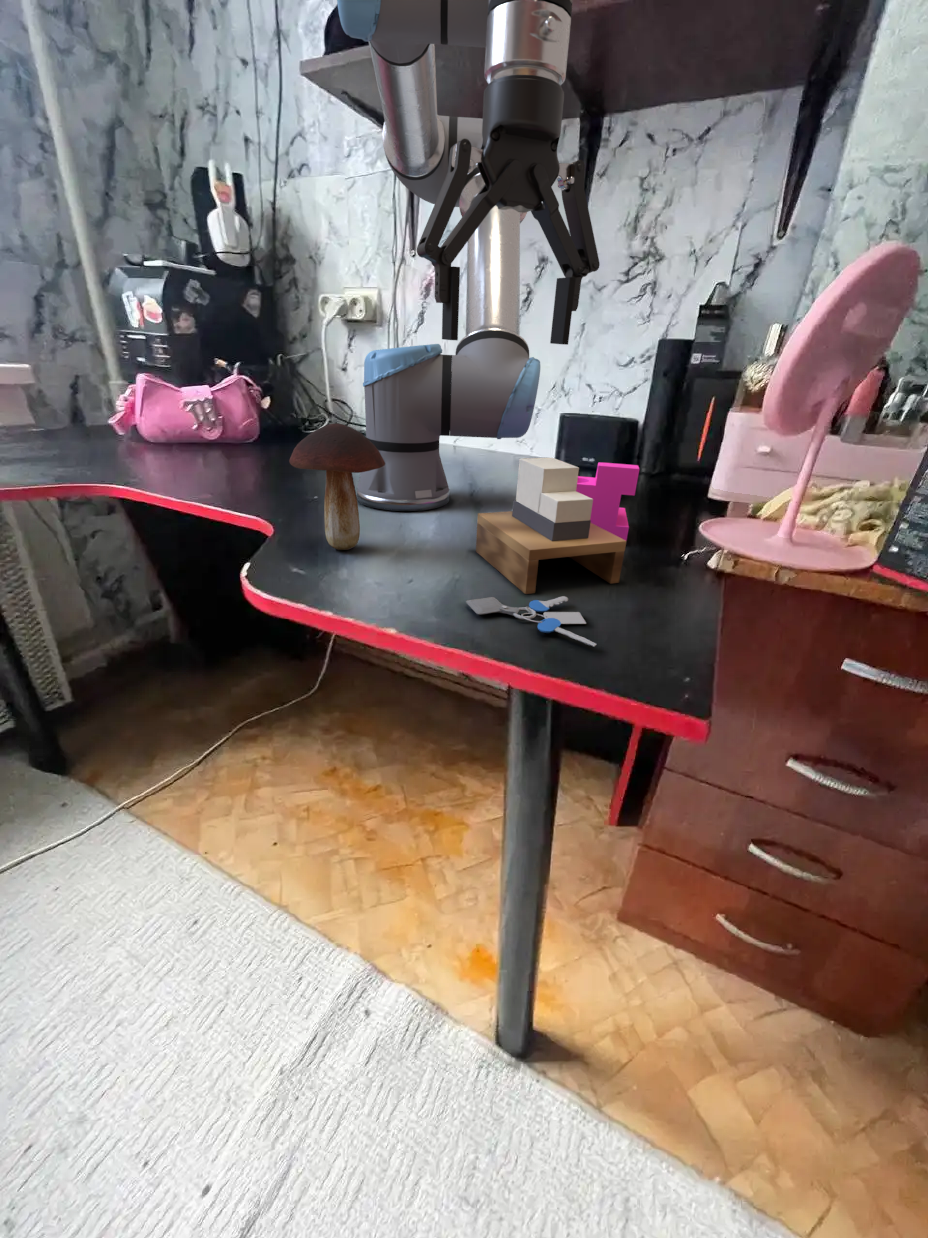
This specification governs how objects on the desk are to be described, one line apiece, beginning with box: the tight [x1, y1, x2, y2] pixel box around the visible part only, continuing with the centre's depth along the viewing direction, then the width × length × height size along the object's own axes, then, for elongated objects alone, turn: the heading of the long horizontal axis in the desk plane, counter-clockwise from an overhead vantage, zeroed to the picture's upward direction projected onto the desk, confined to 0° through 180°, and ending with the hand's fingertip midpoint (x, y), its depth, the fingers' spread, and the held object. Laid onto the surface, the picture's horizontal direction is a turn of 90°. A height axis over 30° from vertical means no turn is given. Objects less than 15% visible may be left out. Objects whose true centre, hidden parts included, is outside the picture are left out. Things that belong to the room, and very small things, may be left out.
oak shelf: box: [475, 510, 627, 595], centre depth 65 cm, size 14×12×5 cm
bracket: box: [576, 461, 640, 542], centre depth 78 cm, size 12×10×10 cm
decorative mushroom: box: [288, 422, 385, 551], centre depth 65 cm, size 11×11×15 cm
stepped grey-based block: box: [511, 457, 593, 541], centre depth 62 cm, size 10×5×7 cm, turn 21°
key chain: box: [465, 595, 597, 648], centre depth 53 cm, size 14×8×1 cm, turn 60°
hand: (506, 342), depth 61 cm, fingers open, 13 cm apart
